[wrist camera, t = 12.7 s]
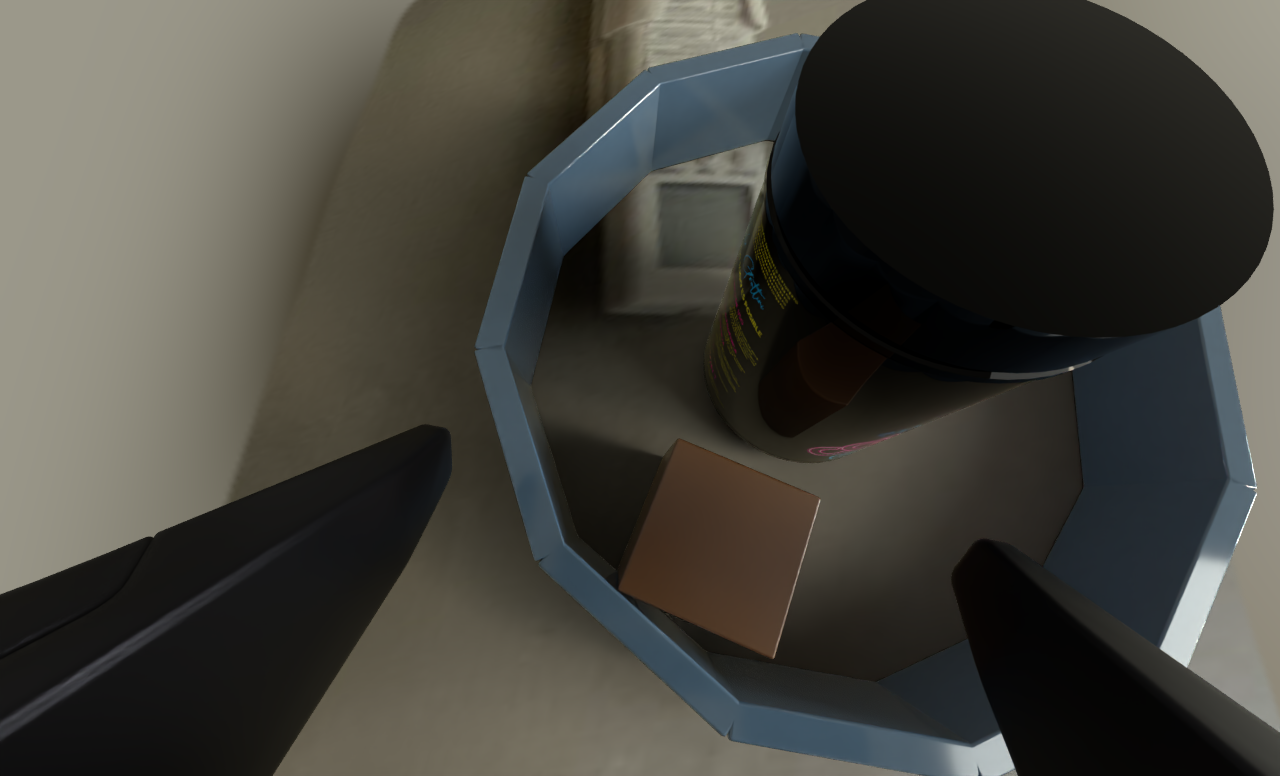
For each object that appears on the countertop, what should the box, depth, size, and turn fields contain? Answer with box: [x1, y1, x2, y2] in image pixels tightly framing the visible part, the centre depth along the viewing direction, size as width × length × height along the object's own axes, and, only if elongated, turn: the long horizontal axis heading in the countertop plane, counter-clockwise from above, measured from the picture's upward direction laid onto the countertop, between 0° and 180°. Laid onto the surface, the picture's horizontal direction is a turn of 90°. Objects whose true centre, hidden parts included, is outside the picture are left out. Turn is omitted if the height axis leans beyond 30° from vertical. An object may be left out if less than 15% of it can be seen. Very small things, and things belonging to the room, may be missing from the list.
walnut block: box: [618, 439, 821, 659], centre depth 13 cm, size 4×4×4 cm
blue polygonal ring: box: [475, 33, 1257, 776], centre depth 15 cm, size 22×22×4 cm
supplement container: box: [704, 0, 1274, 463], centre depth 11 cm, size 7×7×10 cm
